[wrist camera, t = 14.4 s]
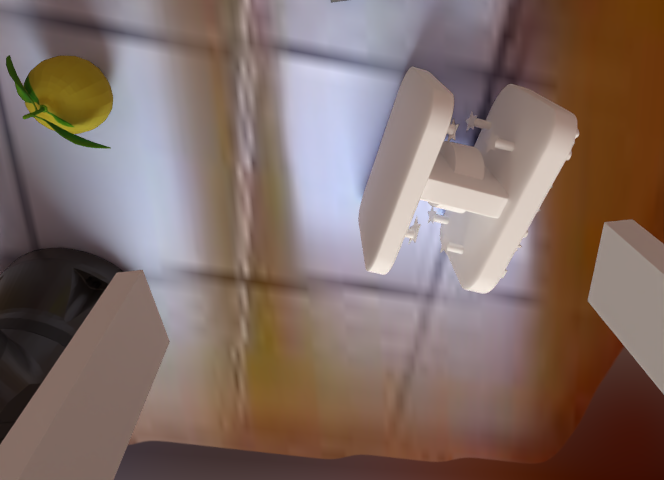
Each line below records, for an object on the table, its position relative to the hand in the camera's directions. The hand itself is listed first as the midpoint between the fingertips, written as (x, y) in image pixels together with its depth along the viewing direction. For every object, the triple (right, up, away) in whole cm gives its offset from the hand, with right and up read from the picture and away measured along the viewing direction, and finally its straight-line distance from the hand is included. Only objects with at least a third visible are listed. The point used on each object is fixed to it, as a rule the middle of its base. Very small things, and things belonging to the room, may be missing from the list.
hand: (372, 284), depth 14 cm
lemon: (-21, +14, +25) cm, 35 cm away
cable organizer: (+8, +9, +28) cm, 31 cm away
